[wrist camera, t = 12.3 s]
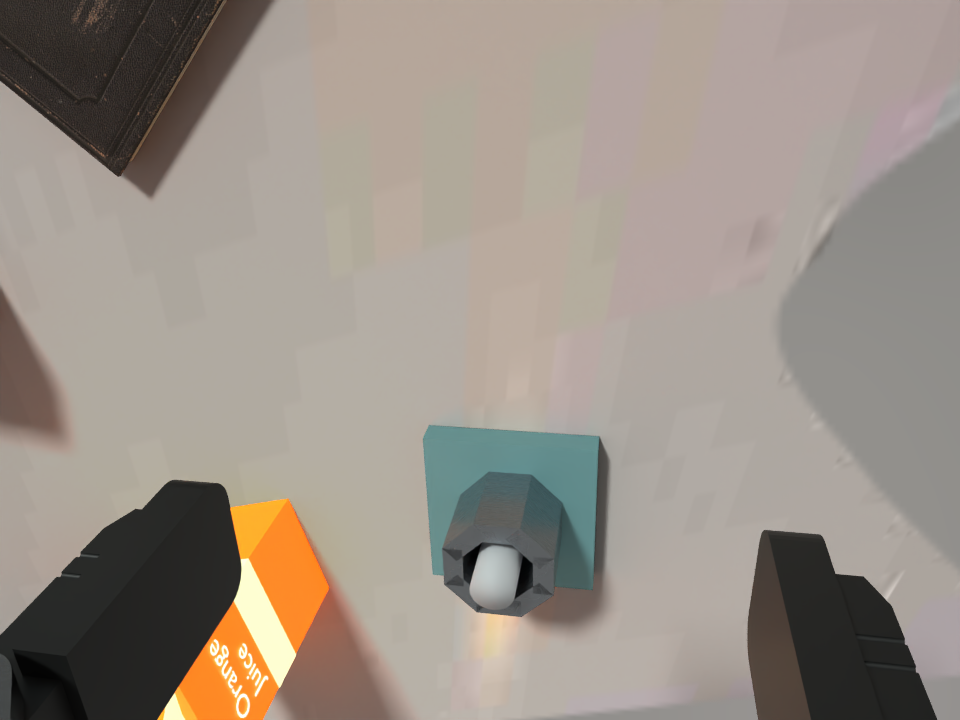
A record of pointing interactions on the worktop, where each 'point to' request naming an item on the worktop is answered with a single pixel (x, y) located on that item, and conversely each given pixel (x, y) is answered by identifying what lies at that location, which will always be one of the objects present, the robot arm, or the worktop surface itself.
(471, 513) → the tube
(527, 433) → the shaft stand
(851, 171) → the worktop surface
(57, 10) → the hardcover book
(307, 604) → the orange juice
